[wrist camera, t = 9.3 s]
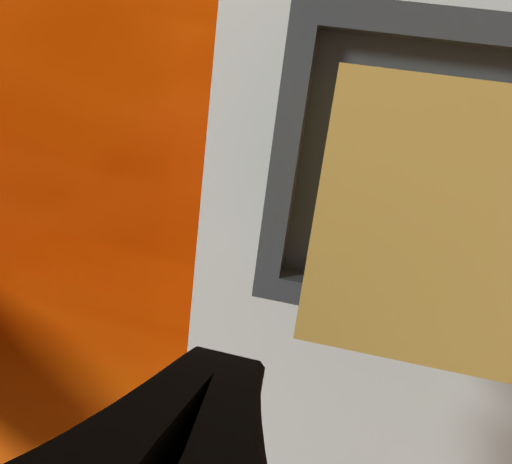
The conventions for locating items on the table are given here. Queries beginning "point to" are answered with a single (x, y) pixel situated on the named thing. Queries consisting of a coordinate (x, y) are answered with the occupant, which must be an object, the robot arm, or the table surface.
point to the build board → (284, 315)
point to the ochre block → (414, 223)
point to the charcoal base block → (322, 92)
